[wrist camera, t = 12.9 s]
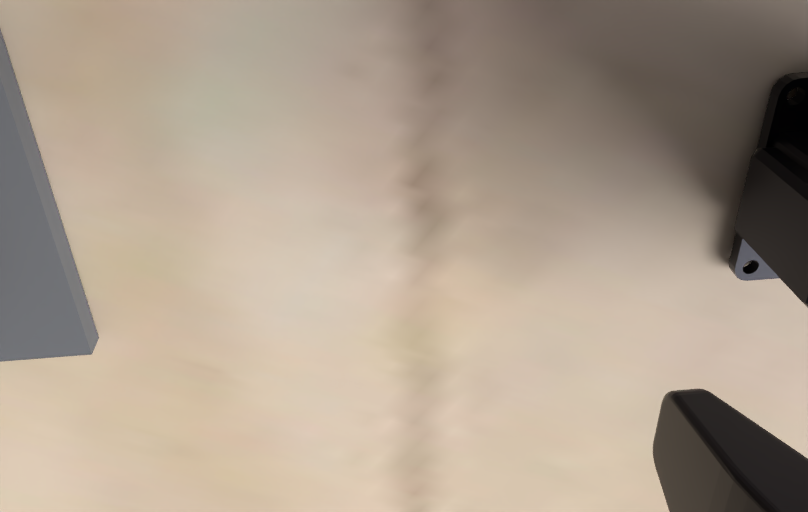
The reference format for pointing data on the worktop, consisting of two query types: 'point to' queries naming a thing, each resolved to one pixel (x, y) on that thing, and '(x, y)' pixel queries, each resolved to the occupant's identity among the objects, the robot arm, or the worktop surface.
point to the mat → (34, 247)
